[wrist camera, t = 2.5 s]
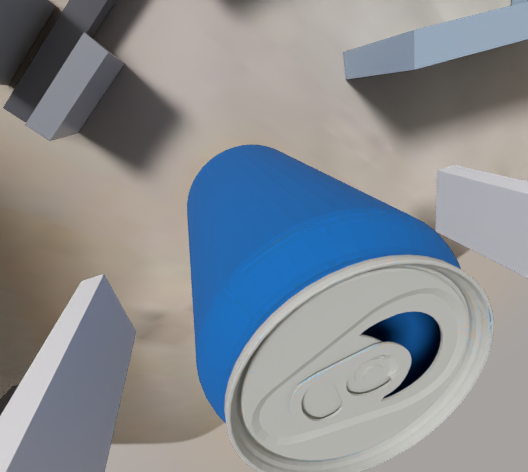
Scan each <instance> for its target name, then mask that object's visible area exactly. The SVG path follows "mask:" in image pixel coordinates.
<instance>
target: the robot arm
mask: <svg viewBox="0 0 528 472" xmlns="http://www.w3.org/2000/svg"><path fill="white" fill-rule="evenodd" d="M436 232H438V233H440V234H442V235H444V236H446V237H448V238H449V239H451V240H453V241H455V242H457V243H459V244H461V245H463V246H465V247H467V248H469V249H471V250H473V251H475V252H477V253H479V254H481V255H483V256H485V257H487V258H489V259H491V260H493V261H495V262H497V263H499V264H501V265H503V266H504V267H506V268H508V269H511V270H512V271H514V272H516V273H518V274H520V275H522V276H524V277H526V278H528V182H527V181H523V180H519V179H514V178H510V177H505V176H501V175H496V174H492V173H487V172H483V171H479V170H474V169H470V168H465V167H461V166H456V165H452V166H449V167H446V168H443V169H440V170H437V195H436ZM135 335H136V331H135V329H134V327H133V326H132V324H131V322H130V320H129V318H128V317H127V315H126V313H125V311H124V309H123V308H122V306H121V304H120V302H119V300H118V299H117V297H116V295H115V293H114V291H113V290H112V288H111V286H110V284H109V282H108V281H107V279H106V277H105V275H104V274H102V275H99V276H96V277H93V278H89V279H86V280H83V281H81V283H80V284H79V286H78V288H77V289H76V291H75V293H74V294H73V296H72V298H71V299H70V301H69V303H68V304H67V306H66V308H65V309H64V311H63V313H62V314H61V316H60V318H59V319H58V321H57V323H56V324H55V326H54V328H53V329H52V331H51V333H50V334H49V336H48V338H47V339H46V341H45V343H44V344H43V346H42V348H41V349H40V351H39V352H38V354H37V356H36V357H35V359H34V361H33V362H32V364H31V366H30V367H29V369H28V371H27V372H26V374H25V376H24V377H23V379H22V381H21V382H20V384H19V385H16V386H13V387H12V388H11V389H10V390H9V391H8V392H7V393H6V394H5V395H4V396H3V397H2V398H1V399H0V472H105V468H106V463H107V458H108V454H109V449H110V446H111V441H112V437H113V432H114V428H115V423H116V419H117V415H118V410H119V406H120V401H121V397H122V392H123V388H124V384H125V379H126V375H127V370H128V366H129V362H130V357H131V353H132V348H133V344H134V339H135Z"/></svg>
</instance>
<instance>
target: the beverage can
mask: <svg viewBox="0 0 528 472" xmlns="http://www.w3.org/2000/svg"><path fill="white" fill-rule="evenodd" d="M187 215H188V231H189V247H190V264H191V280H192V297H193V313H194V329H195V346H196V362H197V370H198V375H199V380H200V383H201V385H202V388H203V390H204V393H205V395H206V398H207V399H208V401H209V403H210V404H211V406H212V407H213V409H214V410H215V412H216V413H217V415H218V416H219V417H220V418H221V419H222V420H223V421H224V422H225V423H226V425H227V431H228V436H229V439H230V441H231V444H232V446H233V448H234V449H235V451H236V452H237V454H238V455H239V457H240V458H241V459H242V460H243V461H244V462H245V463H246V464H247V465H249V466H250V467H252V468H253V469H255V470H256V471H258V472H362V471H365V470H367V469H370V468H372V467H375V466H377V465H379V464H381V463H383V462H385V461H387V460H389V459H391V458H393V457H395V456H397V455H399V454H400V453H402V452H404V451H406V450H407V449H409V448H410V447H412V446H413V445H415V444H416V443H418V442H419V441H421V440H422V439H423V438H424V437H426V436H427V435H428V434H429V433H431V432H432V431H433V430H434V429H435V428H437V427H438V426H439V425H440V424H441V423H442V422H443V421H445V419H446V418H447V417H448V416H449V415H450V414H451V413H452V412H453V411H454V410H455V409H456V408H457V407H458V406H459V404H460V403H461V402H462V401H463V400H464V398H465V397H466V396H467V394H468V393H469V392H470V390H471V389H472V387H473V386H474V384H475V382H476V381H477V379H478V377H479V376H480V374H481V372H482V370H483V367H484V365H485V363H486V361H487V358H488V355H489V352H490V349H491V344H492V339H493V330H494V320H493V311H492V308H491V305H490V301H489V299H488V297H487V295H486V293H485V292H484V290H483V288H482V287H481V286H480V285H479V284H478V282H477V281H476V280H475V279H474V278H472V277H471V276H470V275H468V274H467V273H465V272H464V271H462V270H461V268H460V266H459V263H458V261H457V259H456V257H455V256H454V254H453V252H452V250H451V249H450V247H449V246H448V245H447V244H446V242H445V241H444V240H443V239H442V238H441V237H440V235H439V234H438V233H436V232H435V231H434V230H433V229H432V228H430V227H429V226H428V225H426V224H425V223H424V222H422V221H420V220H418V219H416V218H414V217H412V216H410V215H408V214H406V213H404V212H402V211H400V210H398V209H396V208H394V207H392V206H390V205H388V204H386V203H384V202H382V201H380V200H378V199H376V198H374V197H372V196H369V195H367V194H365V193H363V192H361V191H359V190H357V189H355V188H353V187H351V186H349V185H347V184H345V183H343V182H341V181H339V180H337V179H335V178H333V177H331V176H329V175H327V174H325V173H323V172H321V171H318V170H316V169H314V168H312V167H310V166H308V165H306V164H304V163H302V162H300V161H298V160H296V159H294V158H292V157H290V156H288V155H286V154H284V153H282V152H280V151H278V150H276V149H273V148H270V147H266V146H261V145H242V146H238V147H233V148H231V149H228V150H225V151H224V152H222V153H220V154H218V155H216V156H215V157H214V158H212V159H211V160H210V161H209V162H208V163H207V164H206V165H205V166H204V167H203V168H202V169H201V170H200V172H199V173H198V174H197V176H196V178H195V179H194V181H193V184H192V186H191V188H190V192H189V196H188V203H187Z"/></svg>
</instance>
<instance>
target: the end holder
mask: <svg viewBox="0 0 528 472" xmlns="http://www.w3.org/2000/svg"><path fill="white" fill-rule="evenodd" d="M526 39H528V0H512V3H511V6H508V7H504V8H500V9H496V10H492V11H488V12H484V13H480V14H476V15H472V16H468V17H464V18H460V19H456V20H452V21H448V22H444V23H440V24H436V25H432V26H428V27H424V28H420V29H416V30H413V31H410V32H406V33H403V34H400V35H397V36H394V37H390V38H387V39H384V40H381V41H378V42H374V43H371V44H368V45H365V46H362V47H358V48H355V49H352V50H349V51H346V52H343V53H344V64H345V74H346V79H353V78H360V77H367V76H374V75H381V74H388V73H395V72H402V71H409V70H415V69H419V68H422V67H426V66H430V65H434V64H437V63H441V62H445V61H448V60H452V59H456V58H460V57H463V56H467V55H471V54H474V53H478V52H482V51H486V50H489V49H493V48H497V47H500V46H504V45H508V44H512V43H515V42H519V41H523V40H526Z"/></svg>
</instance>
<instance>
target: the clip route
mask: <svg viewBox="0 0 528 472" xmlns="http://www.w3.org/2000/svg"><path fill="white" fill-rule="evenodd" d="M116 1H117V0H69V2H68V3H67V5H66V7H65V8H64V10H63V12H62V13H61V15H60V16H59V18H58V20H57V21H56V23H55V25H54V26H53V28H52V29H51V31H50V33H49V34H48V36H47V38H46V39H45V41H44V42H43V44H42V46H41V47H40V49H39V50H38V52H37V54H36V55H35V57H34V59H33V60H32V62H31V63H30V65H29V67H28V68H27V70H26V72H25V73H24V75H23V76H22V78H21V80H20V81H19V83H18V85H17V86H16V88H15V89H14V91H13V93H12V94H11V96H10V98H9V99H8V101H7V102H6V104H5V106H4V107H3V108H4V109H6V110H7V111H9V112H10V113H12V114H13V115H15V116H16V117H18V118H20V119H21V120H23V121H24V122H26V124H25V125H26V126H27V127H29V128H30V129H32V130H33V131H35V132H37V133H38V134H40V135H41V136H43V137H44V138H46V139H47V140H49V141H52V140H55V139H58V138H62V137H65V136H69V135H72V134H76V133H78V132H79V130H80V129H81V128H82V126H83V125H84V123H85V122H86V120H87V119H88V117H89V116H90V114H91V113H92V111H93V110H94V108H95V107H96V105H97V104H98V102H99V101H100V99H101V98H102V96H103V95H104V93H105V92H106V90H107V89H108V87H109V86H110V84H111V83H112V82H113V80H114V79H115V77H116V76H117V74H118V73H119V71H120V70H121V68H122V67H123V65H124V63H123V62H122V61H121V60H120V59H118V58H117V57H116V56H115V55H114V54H112V53H111V52H110V51H109V50H108V49H106V48H105V47H104V46H102V45H101V44H100V43H98V42H97V41H95V40H94V39H93V36H94V35H95V33H96V32H97V30H98V29H99V27H100V25H101V24H102V22H103V21H104V19H105V18H106V16H107V15H108V13H109V11H110V10H111V8H112V7H113V5H114V4H115V2H116ZM55 7H56V6H55V5H54V4H53V3H52V2H50V1H49V0H0V84H1V85H8V84H9V83H10V81H11V79H12V78H13V76H14V74H15V73H16V71H17V70H18V68H19V66H20V65H21V63H22V61H23V60H24V58H25V56H26V55H27V53H28V52H29V50H30V48H31V47H32V45H33V43H34V42H35V40H36V38H37V37H38V35H39V34H40V32H41V30H42V29H43V27H44V25H45V24H46V22H47V20H48V19H49V17H50V16H51V14H52V12H53V11H54V9H55Z"/></svg>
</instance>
